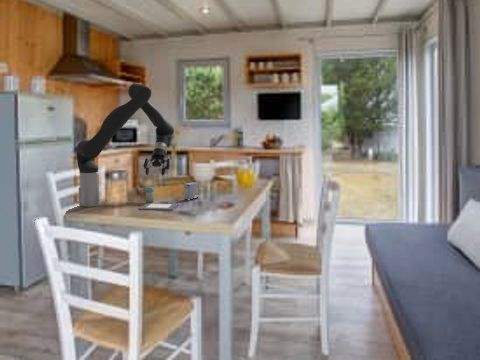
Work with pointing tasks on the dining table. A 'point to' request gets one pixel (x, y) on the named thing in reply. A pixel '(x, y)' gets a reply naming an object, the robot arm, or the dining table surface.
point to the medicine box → (191, 190)
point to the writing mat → (158, 206)
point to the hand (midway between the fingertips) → (154, 174)
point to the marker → (149, 195)
